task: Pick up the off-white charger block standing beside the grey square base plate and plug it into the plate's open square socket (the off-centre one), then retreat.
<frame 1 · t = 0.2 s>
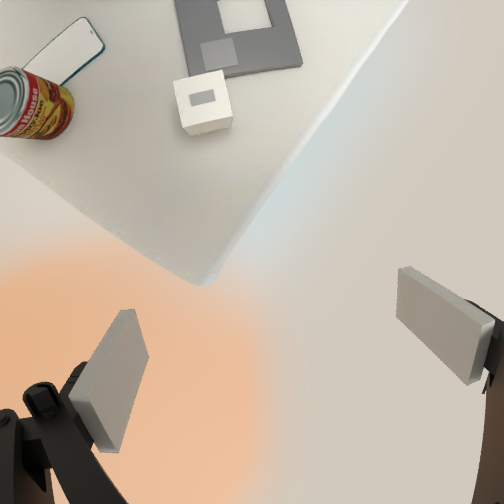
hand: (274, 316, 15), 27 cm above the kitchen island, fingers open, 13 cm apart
smartphone: (53, 68, 33), on the kitchen island
charger: (206, 112, 37), on the kitchen island
canned food: (51, 112, 35), on the kitchen island
grey square base plate: (236, 28, 34), on the kitchen island
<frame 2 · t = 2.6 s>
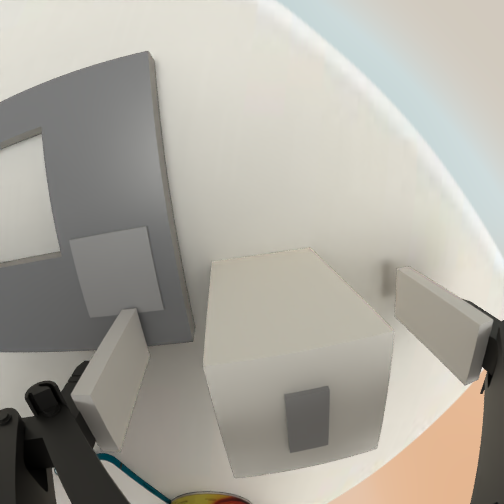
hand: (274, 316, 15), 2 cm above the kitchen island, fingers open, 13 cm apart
smartphone: (139, 501, 22), on the kitchen island
charger: (266, 299, 17), on the kitchen island
grey square base plate: (48, 220, 15), on the kitchen island
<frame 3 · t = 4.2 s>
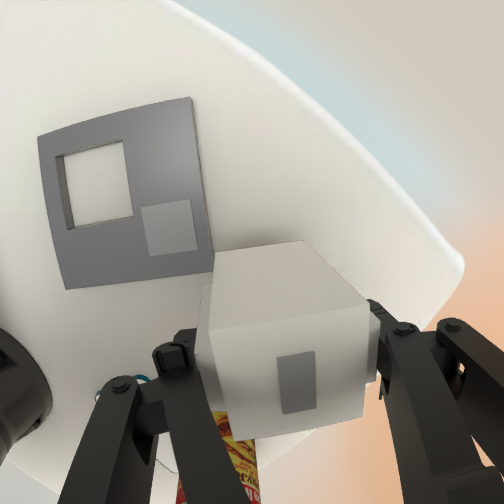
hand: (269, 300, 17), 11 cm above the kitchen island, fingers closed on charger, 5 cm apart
smartphone: (161, 427, 33), on the kitchen island
charger: (264, 287, 19), point 9 cm above the kitchen island, touching gripper
canned food: (219, 432, 33), on the kitchen island
grey square base plate: (122, 197, 26), on the kitchen island
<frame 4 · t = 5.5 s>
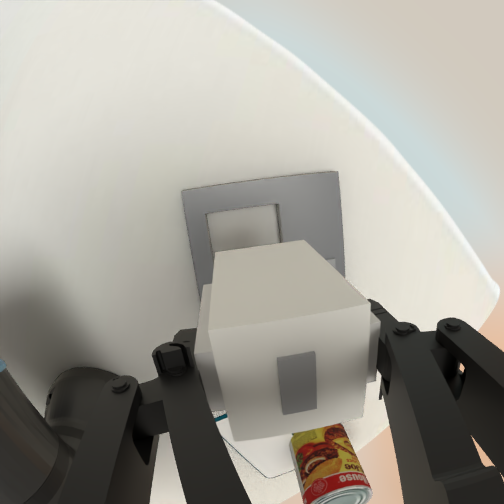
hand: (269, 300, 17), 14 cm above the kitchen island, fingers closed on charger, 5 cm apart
smartphone: (266, 440, 38), on the kitchen island
charger: (265, 287, 19), point 12 cm above the kitchen island, touching gripper
canned food: (316, 437, 39), on the kitchen island
grey square base plate: (268, 252, 31), on the kitchen island
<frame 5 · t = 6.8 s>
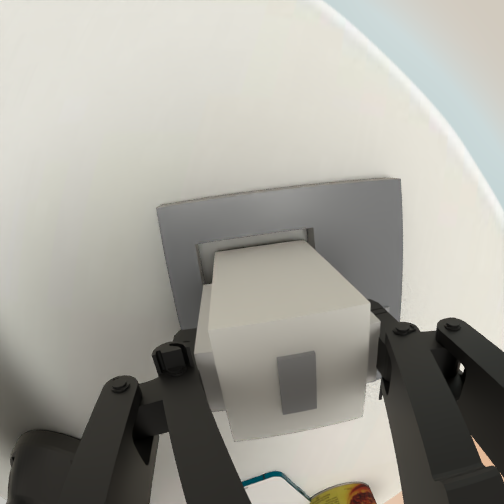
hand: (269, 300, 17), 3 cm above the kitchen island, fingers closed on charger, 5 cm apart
charger: (265, 287, 19), point 1 cm above the kitchen island, touching gripper
canned food: (336, 498, 28), on the kitchen island
grey square base plate: (293, 299, 20), on the kitchen island
when the fingers open (2 cm above the kitchen island, at t = 7.3 s): charger stays where it is, resting in grey square base plate.
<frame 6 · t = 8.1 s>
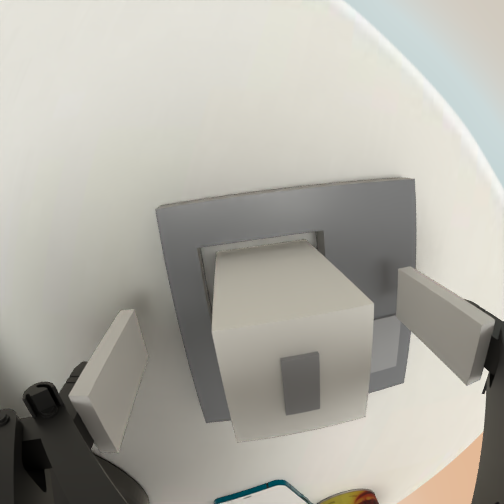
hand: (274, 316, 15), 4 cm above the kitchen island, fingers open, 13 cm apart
charger: (266, 287, 19), resting in grey square base plate
grey square base plate: (300, 306, 19), on the kitchen island
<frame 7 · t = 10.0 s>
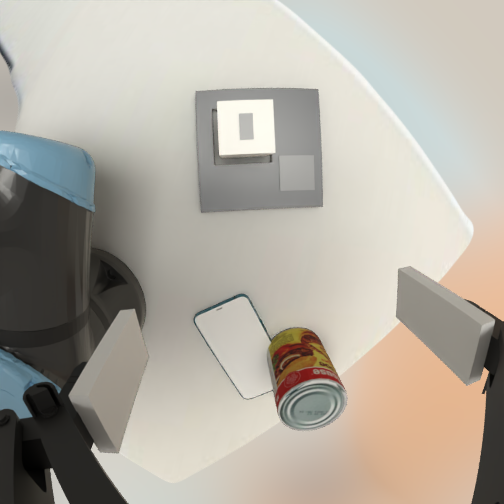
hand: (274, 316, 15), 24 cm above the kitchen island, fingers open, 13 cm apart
smartphone: (244, 349, 44), on the kitchen island
charger: (242, 136, 36), resting in grey square base plate
canned food: (294, 351, 44), on the kitchen island
grey square base plate: (259, 148, 36), on the kitchen island
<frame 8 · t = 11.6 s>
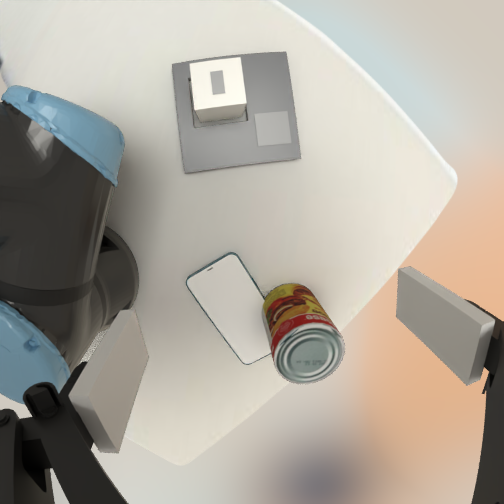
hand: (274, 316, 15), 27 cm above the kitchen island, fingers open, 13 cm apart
smartphone: (239, 310, 44), on the kitchen island
charger: (218, 100, 37), resting in grey square base plate
canned food: (289, 308, 45), on the kitchen island
grey square base plate: (235, 110, 37), on the kitchen island
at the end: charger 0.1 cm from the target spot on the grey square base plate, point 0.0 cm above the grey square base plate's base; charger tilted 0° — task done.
